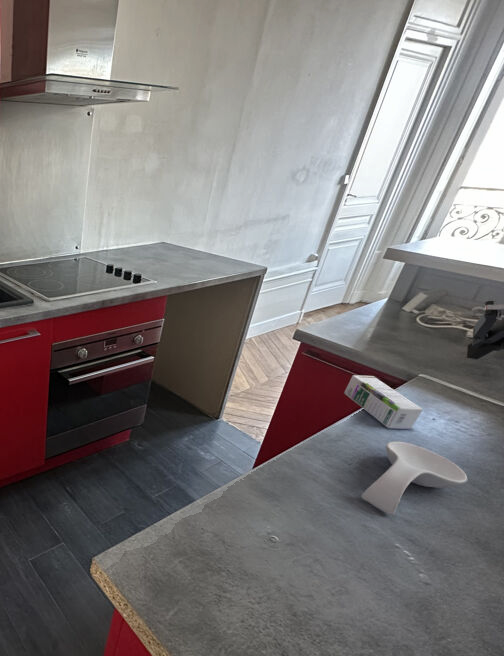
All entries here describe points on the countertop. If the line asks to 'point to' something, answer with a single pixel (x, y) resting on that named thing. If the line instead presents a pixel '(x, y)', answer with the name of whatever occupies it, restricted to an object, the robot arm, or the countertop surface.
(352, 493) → the countertop surface
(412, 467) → the spoon rest
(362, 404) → the syrup box
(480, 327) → the robot arm
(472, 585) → the countertop surface
